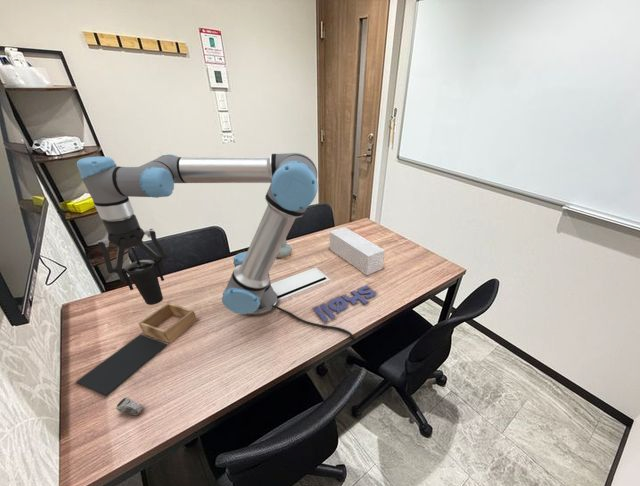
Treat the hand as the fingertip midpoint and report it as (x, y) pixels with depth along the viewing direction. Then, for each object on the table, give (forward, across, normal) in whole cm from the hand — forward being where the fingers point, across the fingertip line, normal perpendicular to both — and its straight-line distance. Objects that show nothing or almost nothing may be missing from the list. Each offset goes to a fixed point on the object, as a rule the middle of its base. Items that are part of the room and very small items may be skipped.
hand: (147, 283), depth 91 cm
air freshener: (+21, -58, -24) cm, 67 cm away
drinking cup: (+7, 0, 0) cm, 7 cm away
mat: (+21, +13, +8) cm, 26 cm away
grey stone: (+21, +14, +28) cm, 38 cm away
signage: (+21, -61, +28) cm, 70 cm away
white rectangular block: (+21, -88, +1) cm, 90 cm away
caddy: (+21, -1, -1) cm, 21 cm away
